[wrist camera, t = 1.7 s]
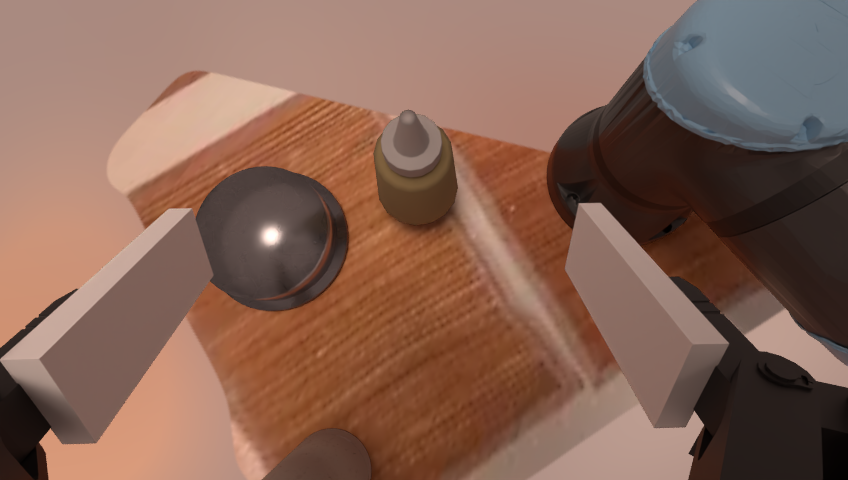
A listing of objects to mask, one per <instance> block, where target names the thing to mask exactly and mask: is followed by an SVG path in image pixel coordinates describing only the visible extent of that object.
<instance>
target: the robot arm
mask: <svg viewBox="0 0 848 480" xmlns="http://www.w3.org/2000/svg"><path fill="white" fill-rule="evenodd" d="M547 184H548V189H549V193H550V196H551V199H552V202H553V204H554V206H555V208H556V209H557V211H558V213H559V214H560V216H561V217H562V218H563V219H564V221H565V222H566V223H567V224H568V225H569V226H570V227H571V228H573V233H572V237H571V242H570V247H569V251H568V256H567V261H566V265H565V271H566V272H567V274H568V276H569V278H570V279H571V281H572V283H573V285H574V287H575V288H576V290H577V292H578V294H579V295H580V297H581V299H582V301H583V302H584V304H585V306H586V308H587V310H588V311H589V313H590V315H591V317H592V318H593V320H594V322H595V324H596V326H597V327H598V329H599V331H600V333H601V334H602V336H603V338H604V340H605V342H606V343H607V345H608V347H609V349H610V350H611V352H612V354H613V356H614V358H615V359H616V361H617V363H618V365H619V366H620V368H621V370H622V372H623V374H624V375H625V377H626V379H627V381H628V382H629V384H630V386H631V388H632V390H633V391H634V393H635V395H636V397H637V398H638V400H639V402H640V404H641V406H642V407H643V409H644V411H645V413H646V414H647V416H648V418H649V420H650V422H651V423H652V425H653V427H654V428H673V427H686V425H687V423H688V421H689V420H690V418H691V416H692V414H693V412H694V411H695V412H696V413H697V415H698V416H699V418H700V419H701V421H702V422H703V424H704V427H703V428H702V431H701V432H700V434H699V436H698V437H697V439H696V441H695V443H694V445H693V446H692V448H691V450H690V452H689V454H690V455H692V456H694V458H693V462H692V466H691V471H690V475H689V479H688V480H848V388H846V387H841V386H836V385H832V384H827V383H822V382H818V381H815V379H814V378H813V377H812V376H811V375H810V374H809V373H808V372H807V371H806V370H804V369H803V368H802V367H800V366H798V365H797V364H796V363H794V362H792V361H790V360H788V359H786V358H784V357H782V356H779V355H776V354H772V353H768V352H760V351H758V350H757V349H756V348H755V347H754V345H753V344H752V343H751V342H750V341H749V340H748V339H747V338H746V337H745V336H744V335H743V334H742V333H741V332H740V331H739V330H738V329H737V328H736V327H735V326H734V325H733V324H732V323H731V322H730V321H729V320H728V319H727V318H726V317H725V316H724V315H723V314H720V311H719V310H718V309H717V308H716V307H715V306H714V305H713V304H712V303H710V302H709V301H710V300H709V299H708V298H707V297H706V296H705V295H704V294H703V293H702V292H701V291H700V290H699V289H698V288H697V287H695V286H693V285H692V284H690V283H689V282H687V281H685V280H684V279H682V278H680V277H668V276H667V275H666V274H665V273H664V272H663V271H662V269H661V268H660V267H659V266H658V265H657V264H656V263H655V262H654V261H653V260H652V258H651V257H650V256H649V255H648V254H647V253H646V252H645V251H644V250H643V249H642V248H641V246H640V245H644V244H647V243H650V242H653V241H655V240H658V239H661V238H663V237H665V236H667V235H669V234H670V233H672V232H673V231H675V230H676V229H677V228H679V227H680V226H681V225H682V224H683V223H684V222H685V221H686V220H687V218H688V217H689V216H690V215H691V213H692V212H693V211H694V212H695V213H696V214H697V215H698V216H699V217H700V218H701V219H702V220H703V221H704V222H705V223H706V224H707V225H708V226H709V227H710V228H711V229H712V230H713V231H714V232H715V233H716V235H717V236H718V237H719V238H720V239H721V240H722V241H723V243H724V244H725V245H726V246H727V247H728V248H729V249H730V250H731V251H732V252H733V253H734V254H735V255H736V256H737V257H738V258H739V259H740V261H741V262H742V263H743V264H744V265H745V266H746V267H747V268H748V269H749V270H750V271H751V272H752V273H753V274H754V275H755V276H756V277H757V278H758V280H759V281H760V282H761V283H762V284H763V285H764V286H765V287H766V288H767V289H768V290H769V291H770V292H771V293H772V294H773V295H774V296H775V297H776V299H777V300H778V301H779V302H780V303H781V304H782V305H783V306H784V307H785V308H786V309H787V310H788V311H789V313H790V315H791V317H792V318H793V319H794V321H795V322H796V323H797V324H798V326H799V327H800V328H801V329H803V330H805V331H806V332H807V334H808V335H810V336H811V337H813V338H814V339H816V340H818V341H819V342H820V343H822V344H823V345H824V346H825V347H826V348H827V349H828V350H829V351H830V352H831V353H832V354H833V355H834V356H835V357H836V358H837V359H839V360H840V361H841V362H843V363H844V364H845V365H847V366H848V0H697V1H696V2H695V3H694V4H693V5H692V6H691V7H690V8H689V9H688V10H687V11H686V12H685V13H684V14H683V15H682V16H681V17H680V18H679V19H678V20H677V21H676V23H675V24H674V25H673V26H671V27H670V28H668V29H667V30H666V31H665V32H663V33H662V34H661V35H660V36H659V37H658V38H657V40H656V41H655V42H654V44H653V47H652V48H651V49H650V50H649V52H648V54H647V56H646V57H645V59H644V60H643V61H642V62H641V64H640V65H639V66H638V68H637V69H636V70H635V71H634V72H633V74H632V75H631V76H630V77H629V79H628V80H627V81H626V82H625V84H624V85H623V86H622V87H621V89H620V90H619V91H618V92H617V94H616V95H615V96H614V97H613V99H612V100H611V101H610V102H609V104H607V105H605V106H602V107H599V108H596V109H594V110H591V111H589V112H587V113H585V114H584V115H582V116H581V117H579V118H578V119H577V120H575V121H574V122H573V123H572V124H571V125H570V126H569V127H568V128H567V129H566V130H565V132H564V133H563V134H562V136H561V137H560V138H559V140H558V141H557V143H556V145H555V146H554V148H553V150H552V152H551V155H550V158H549V162H548V168H547ZM212 277H213V272H212V269H211V266H210V263H209V259H208V256H207V253H206V250H205V247H204V244H203V241H202V238H201V235H200V232H199V229H198V226H197V222H196V219H195V216H194V213H193V210H192V208H189V209H168V210H167V211H166V212H165V213H164V214H162V215H161V216H160V217H159V218H158V219H157V220H156V221H155V222H153V223H152V224H151V225H150V226H149V227H148V228H147V229H146V230H144V231H143V232H142V233H141V234H140V235H139V236H138V237H137V238H135V239H134V240H133V241H132V242H131V243H130V244H129V245H128V246H127V247H125V248H124V249H123V250H122V251H121V252H120V253H119V254H118V255H116V256H115V257H114V258H113V259H112V260H111V261H110V262H109V263H107V264H106V265H105V266H104V267H103V268H102V269H101V270H100V271H99V272H97V273H96V274H95V275H94V276H93V277H92V278H91V279H90V280H88V282H86V283H85V284H84V285H83V286H82V287H81V288H79V289H75V290H73V291H72V292H70V293H68V294H66V295H65V296H63V297H61V298H59V299H58V300H56V301H54V302H53V303H52V304H51V305H50V306H49V307H47V308H46V309H45V310H44V311H43V312H42V313H41V314H39V317H38V318H35V319H33V320H32V321H31V322H30V323H29V324H28V325H26V328H25V329H22V330H21V331H20V332H18V333H17V334H16V335H15V336H14V337H13V338H11V339H10V340H9V341H8V342H7V343H6V344H5V345H3V346H2V347H1V348H0V480H48V472H47V463H46V453H45V451H44V449H43V448H42V446H41V445H40V443H39V441H40V440H41V439H42V438H43V437H44V435H45V434H46V433H47V432H48V430H49V429H50V428H51V430H52V431H53V432H54V433H55V435H56V436H57V437H58V439H59V440H60V441H61V443H62V444H89V443H97V441H98V440H99V439H100V437H101V436H102V434H103V433H104V431H105V430H106V429H107V427H108V426H109V424H110V423H111V422H112V420H113V419H114V417H115V415H116V414H117V413H118V411H119V410H120V409H121V407H122V406H123V404H124V403H125V401H126V400H127V399H128V397H129V396H130V394H131V393H132V391H133V390H134V389H135V387H136V386H137V384H138V383H139V381H140V380H141V378H142V377H143V375H144V374H145V373H146V371H147V370H148V369H149V367H150V366H151V364H152V363H153V361H154V360H155V358H156V357H157V356H158V354H159V353H160V351H161V350H162V348H163V347H164V346H165V344H166V343H167V341H168V340H169V338H170V337H171V336H172V334H173V333H174V331H175V330H176V328H177V327H178V325H179V324H180V323H181V321H182V320H183V318H184V317H185V316H186V314H187V313H188V311H189V310H190V308H191V307H192V305H193V304H194V303H195V301H196V300H197V298H198V297H199V295H200V294H201V293H202V291H203V290H204V288H205V287H206V285H207V284H208V283H209V281H210V280H211V278H212Z"/></svg>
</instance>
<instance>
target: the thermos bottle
mask: <svg viewBox="0 0 848 480" xmlns="http://www.w3.org/2000/svg"><path fill="white" fill-rule="evenodd" d="M262 480H371V463H370V458H369V456H368V453H367V451H366V449H365V447H364V446H363V444H362V443H361V442H360V441H359V440H358V439H357V438H356V437H355V436H353V435H352V434H351V433H348V432H346V431H344V430H340V429H324V430H320V431H318V432H315V433H313V434H311V435H310V436H309V437H307V438H306V439H305V440H304V441H303V442H301V443H300V444H299V445H298V446H297V447H296V448H295V449H294V450H293V451H292V452H291V453H290V454H289V455H288V456H287V457H286V458H284V459H283V460H282V461H281V462H280V463H279V464H278V465H277V466H276V467H275V468H274V469H273V470H272V471H271V472H270V473H268V474H267V475H266V476H265V477H264V478H263V479H262Z"/></svg>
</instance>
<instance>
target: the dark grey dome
mask: <svg viewBox="0 0 848 480" xmlns="http://www.w3.org/2000/svg"><path fill="white" fill-rule="evenodd" d="M196 222H197V226H198V229H199V232H200V235H201V238H202V241H203V244H204V247H205V250H206V253H207V256H208V259H209V263H210V266H211V269H212V272H213V277H212V278H211V280H210V281H211V282H212V283H213V284H214V285H215V286H216V287H218V288H219V289H221V290H222V291H224V292H226V293H227V294H228V295H229V296H230V297H232V298H233V299H234V300H236V301H238V302H239V303H241V304H243V305H246V306H248V307H251V308H255V309H259V310H267V311H281V310H287V309H292V308H295V307H299V306H301V305H304V304H306V303H308V302H310V301H311V300H313V299H315V298H316V297H318V296H319V295H320V294H321V293H323V292H324V291H325V290H326V289H327V288H328V287H329V286H330V285H331V283H332V282H333V281H334V279H335V278H336V277H337V275H338V273H339V272H340V270H341V268H342V265H343V263H344V260H345V257H346V253H347V248H348V227H347V222H346V219H345V215H344V213H343V211H342V208H341V207H340V205H339V203H338V202H337V200H336V199H335V198H334V197H333V195H332V194H331V193H330V192H329V191H328V190H327V189H326V188H325V187H324V186H323V185H321V184H320V183H318V182H317V181H315V180H313V179H311V178H309V177H307V176H304V175H301V174H297V173H293V172H290V171H288V170H285V169H281V168H277V167H268V166H265V167H254V168H249V169H245V170H242V171H239V172H237V173H235V174H233V175H231V176H229V177H227V178H226V179H224V180H223V181H222V182H220V183H219V184H218V185H217V186H216V187H215V188H214V189H213V190H212V191H211V192H210V193H209V194H208V196H207V197H206V198H205V200H204V201H203V203H202V205H201V207H200V209H199V211H198V213H197V216H196Z"/></svg>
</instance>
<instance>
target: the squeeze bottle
mask: <svg viewBox="0 0 848 480" xmlns="http://www.w3.org/2000/svg"><path fill="white" fill-rule="evenodd" d="M373 154H374V162H375V169H376V177H377V185H378V193H379V200H380V201H381V203H382V205H383V206H384V208H385V210H386V211H387V213H389V214H390V215H391V216H393V217H394V218H396V219H397V220H398V221H400V222H404V223H408V224H412V225H421V224H427V223H432V222H433V221H435V220H437V219H439V218H440V217H442V216H444V215H445V214H446V213H447V211H448V210H449V209H450V207H451V206H452V205H453V203H454V201H455V197H456V193H457V189H458V186H457V179H456V172H455V165H454V159H453V152H452V146H451V142H450V140H449V139H448V137H447V135H446V134H445V132H444V131H443V129H441V128H440V127H438V126H437V125H436V124H435V123H434V122H433V121H432V120H430V119H429V118H427V117H426V116H424V115H419V114H415V112H413V111H411V110H405V111H404V112H402V113H401V114H400V116H398V117H397V118H395V119H393V120H391V121H390V123H389V124H388V125H387V126H386V127H385V129H384V130H383V133H382V134H381V136H380V137H379V138H378V139H377V143H376V146H375V150H374V153H373Z"/></svg>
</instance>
